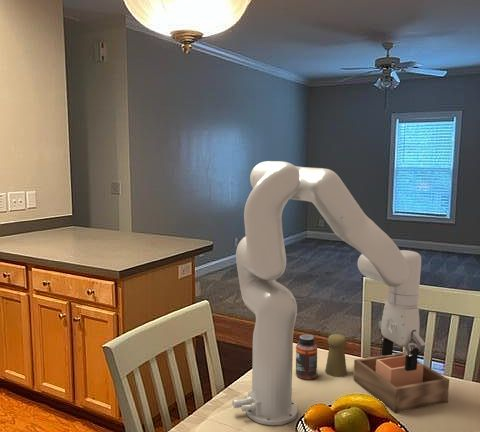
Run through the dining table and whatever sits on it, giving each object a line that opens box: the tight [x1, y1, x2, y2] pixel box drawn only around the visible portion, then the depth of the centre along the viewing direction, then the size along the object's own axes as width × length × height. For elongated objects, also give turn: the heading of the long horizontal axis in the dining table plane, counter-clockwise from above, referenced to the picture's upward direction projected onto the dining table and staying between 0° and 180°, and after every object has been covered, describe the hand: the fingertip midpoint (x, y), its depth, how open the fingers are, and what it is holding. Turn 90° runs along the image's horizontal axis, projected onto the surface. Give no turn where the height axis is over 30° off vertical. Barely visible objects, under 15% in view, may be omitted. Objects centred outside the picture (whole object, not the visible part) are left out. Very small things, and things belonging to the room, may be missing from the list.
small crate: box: [376, 354, 425, 387], centre depth 128 cm, size 10×6×7 cm, turn 110°
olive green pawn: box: [324, 333, 348, 378], centre depth 138 cm, size 6×6×11 cm
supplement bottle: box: [295, 334, 318, 380], centre depth 136 cm, size 6×6×11 cm
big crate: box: [353, 352, 450, 414], centre depth 128 cm, size 16×18×6 cm
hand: (398, 362), depth 127 cm, fingers open, 9 cm apart
